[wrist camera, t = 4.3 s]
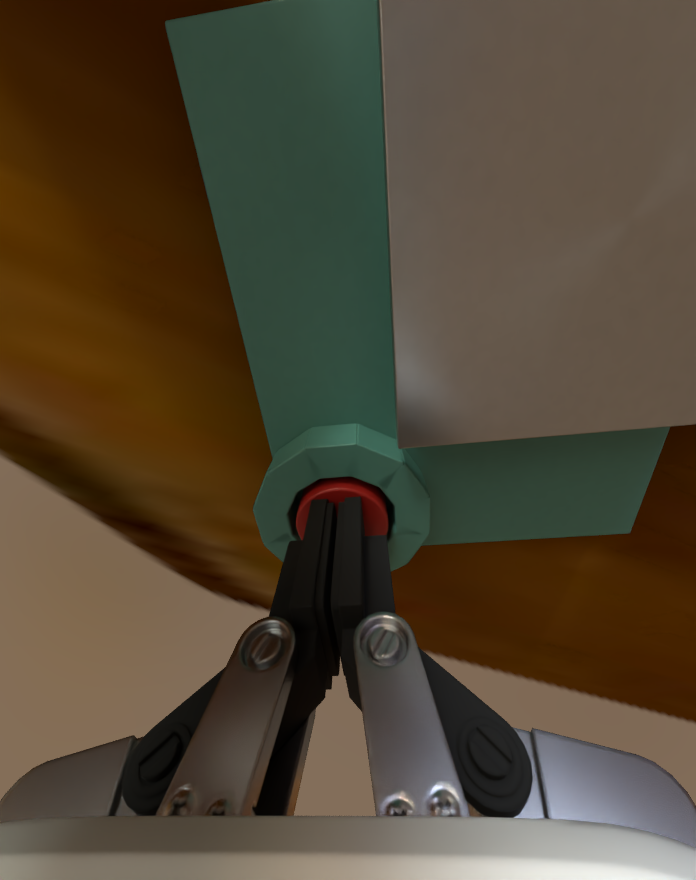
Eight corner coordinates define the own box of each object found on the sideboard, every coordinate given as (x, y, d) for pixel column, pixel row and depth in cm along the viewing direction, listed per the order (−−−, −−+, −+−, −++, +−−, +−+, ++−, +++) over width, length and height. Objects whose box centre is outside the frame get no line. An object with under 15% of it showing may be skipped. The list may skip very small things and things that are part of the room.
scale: (171, 62, 8) (81, -42, 6) (788, -49, 7) (1046, -247, 4) (289, 532, 15) (275, 586, 13) (606, 512, 14) (663, 566, 12)
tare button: (295, 467, 12) (287, 492, 10) (382, 460, 11) (386, 485, 10) (309, 533, 13) (304, 563, 12) (387, 528, 13) (390, 558, 11)
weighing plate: (366, 27, 8) (372, -141, 5) (812, -53, 7) (1169, -315, 4) (388, 406, 12) (398, 449, 9) (663, 380, 12) (776, 418, 8)
